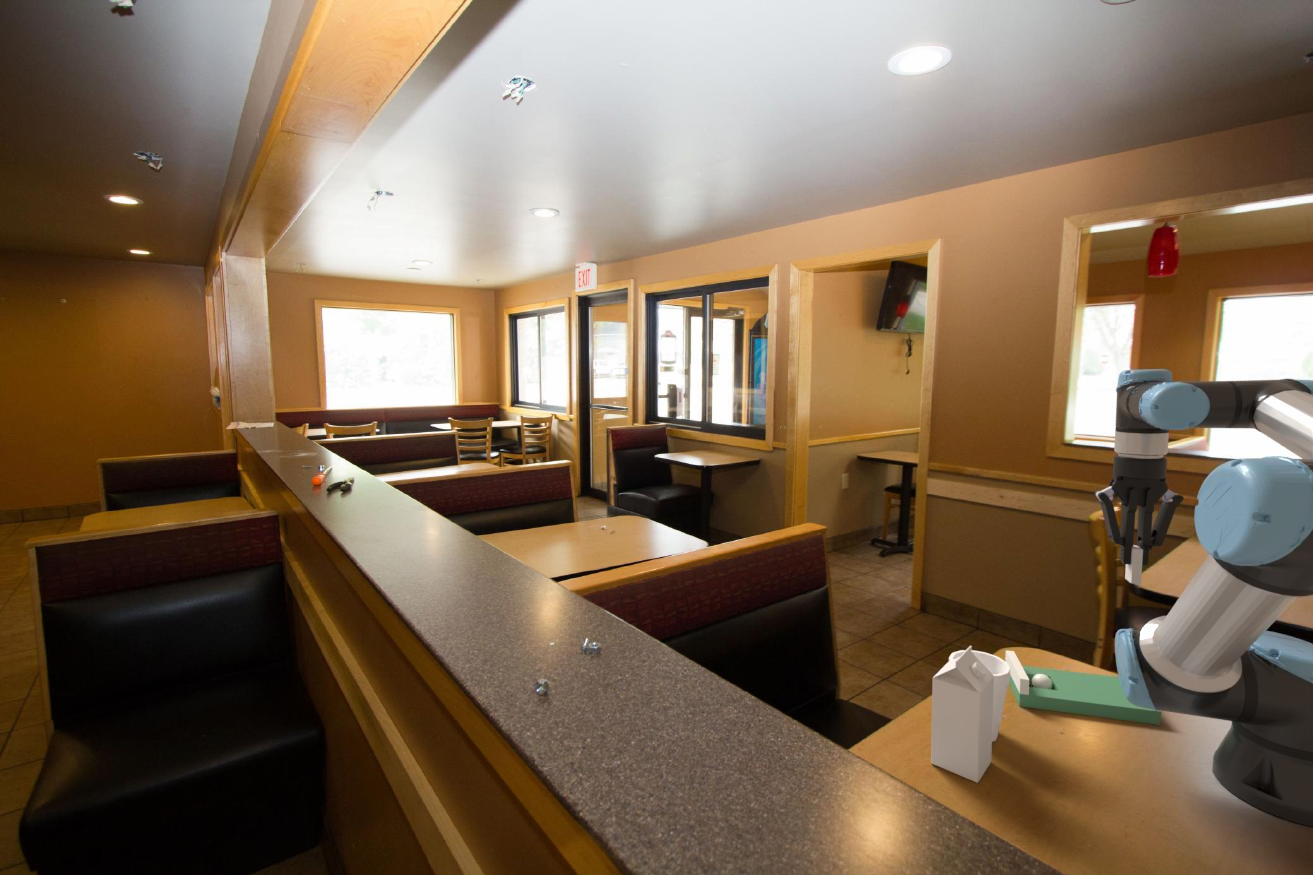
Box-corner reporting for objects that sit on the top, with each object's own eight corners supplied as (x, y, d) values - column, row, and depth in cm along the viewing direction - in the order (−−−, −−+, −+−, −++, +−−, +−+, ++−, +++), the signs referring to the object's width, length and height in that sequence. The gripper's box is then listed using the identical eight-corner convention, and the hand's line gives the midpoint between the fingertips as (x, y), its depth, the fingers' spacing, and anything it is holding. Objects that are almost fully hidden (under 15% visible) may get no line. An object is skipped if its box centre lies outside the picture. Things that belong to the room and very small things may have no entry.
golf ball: (1059, 692, 115) (1049, 676, 115) (1041, 699, 116) (1031, 683, 116) (1052, 683, 118) (1042, 668, 119) (1035, 690, 119) (1025, 675, 120)
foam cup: (946, 739, 104) (948, 668, 102) (948, 712, 112) (949, 646, 110) (1009, 754, 99) (1012, 680, 98) (1006, 724, 107) (1008, 656, 106)
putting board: (1160, 724, 106) (1162, 695, 105) (1019, 706, 113) (1020, 678, 112) (1131, 690, 117) (1132, 663, 116) (1004, 675, 124) (1005, 650, 124)
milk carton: (930, 764, 97) (932, 654, 95) (946, 744, 102) (948, 639, 100) (977, 784, 92) (981, 668, 90) (991, 762, 97) (995, 652, 95)
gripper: (1173, 452, 109) (1166, 577, 111) (1089, 451, 113) (1084, 571, 115) (1195, 458, 101) (1186, 591, 104) (1105, 457, 106) (1098, 585, 108)
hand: (1132, 581), depth 110 cm, fingers closed
